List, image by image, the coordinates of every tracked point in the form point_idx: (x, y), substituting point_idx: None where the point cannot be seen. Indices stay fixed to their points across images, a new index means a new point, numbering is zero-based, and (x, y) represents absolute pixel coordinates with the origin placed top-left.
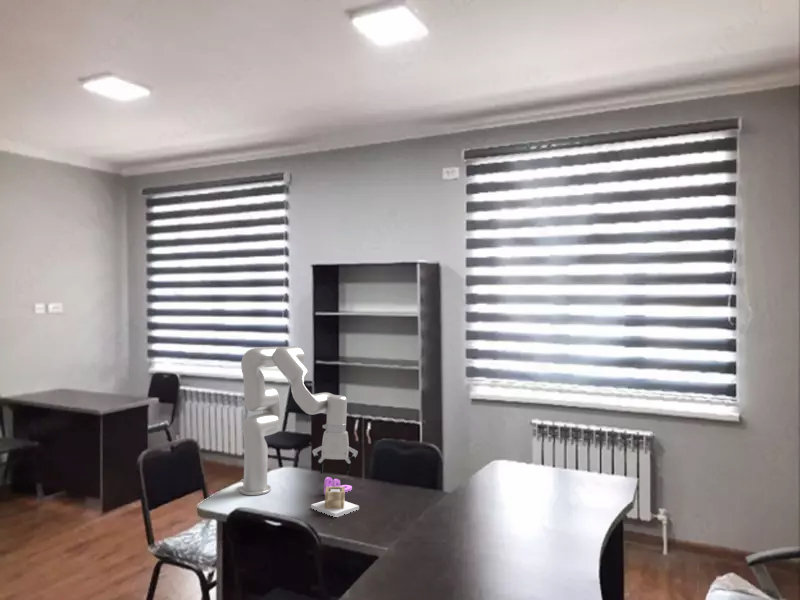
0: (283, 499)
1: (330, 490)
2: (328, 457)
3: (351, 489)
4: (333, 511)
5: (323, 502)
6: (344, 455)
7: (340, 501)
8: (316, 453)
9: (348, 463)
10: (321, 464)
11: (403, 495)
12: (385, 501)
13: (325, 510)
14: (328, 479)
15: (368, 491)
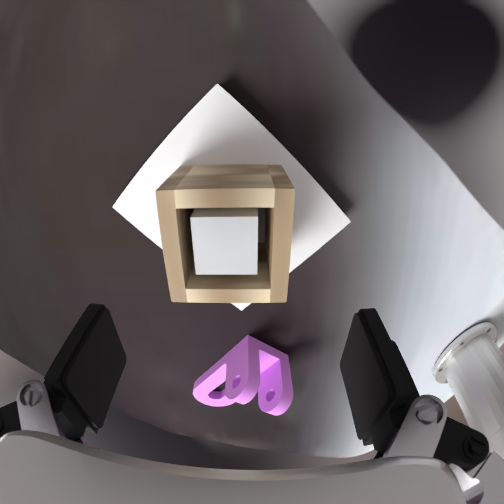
0: (425, 306)
1: (259, 278)
2: (339, 491)
3: (194, 385)
4: (229, 117)
5: (291, 249)
6: (10, 476)
7: (189, 173)
8: (481, 483)
9: (41, 384)
10: (401, 380)
11: (37, 332)
12: (57, 291)
13: (275, 138)
14: (276, 402)
15: (138, 372)
